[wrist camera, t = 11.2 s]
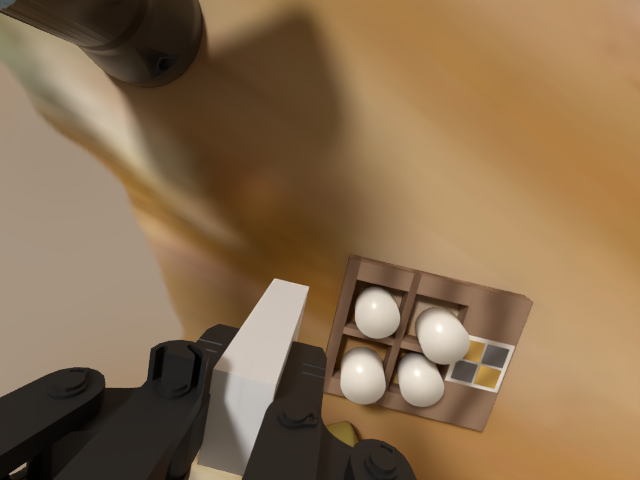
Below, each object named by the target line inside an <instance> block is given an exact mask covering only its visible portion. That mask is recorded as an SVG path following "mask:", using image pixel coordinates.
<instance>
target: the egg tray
mask: <svg viewBox="0 0 640 480" xmlns="http://www.w3.org/2000/svg"><path fill="white" fill-rule="evenodd" d="M356 280H361V281H366V282H370V283H374V284H378V285H382V286H387V287H391V288H395V289H399V290H403V291H404V294H403V297H402V301H401V304H400V308H399V313H400V323H399V326H398V328H397V329H396V331H395V332H394V333H393V334H391V335H390V336H388V337H385V338H380V339H375V338H371V337H368V336H366V335H364V334H363V333H362V332H361V331H360V330H359V329H358V327H357V325H356V322H354V321H350V320H346V319H347V315H348V311H349V307H350V303H351V299H352V296H353V292H354V288H355V284H356ZM416 294H420V295H425V296H429V297H433V298H437V299H441V300H446V301H450V302H454V303H458V304H462V305H461V308H460V310H459V313H458V316H457V319H458V320H459V321H460V323H461V324H462V326H463V327H464V328H465V330H466V331H467V333H468V335H469V338H470V346H469V350H468V352H467V353H466V355H465V356H464V357H463V358H462V359H461V360H459V361H457V362H455V363H452V364H445V365H444V364H441V367H440V370H439V373H440V376H441V378H442V380H443V383H444V393H443V395H442V397H441V398H440V400H439V401H438V402H436V403H435V404H433V405H430V406H426V407H418V406H414V405H412V404H410V403H408V402H407V401H406V400H405V399H404V398H403V396H402V394H401V390H400V386H399V384H395V383H391V382H390V379H391V376H392V373H393V369H394V366H395V363H396V359H397V356H398V353H399V349H400V348H404V349H409V350H413V351H417V352H421V353H424V352H423V350H422V348H421V345H420V343H419V340H418V338H417V337H416V336H412V335H407V334H404V333H405V330H406V326H407V323H408V320H409V316H410V313H411V310H412V306H413V303H414V300H415V297H416ZM532 305H533V302H532V301H531V300H530V299H528V298H527V297H526V296H524V295H521V294H516V293H512V292H508V291H504V290H499V289H495V288H491V287H487V286H482V285H478V284H474V283H470V282H465V281H461V280H457V279H453V278H448V277H444V276H440V275H436V274H431V273H427V272H423V271H419V270H414V269H410V268H406V267H402V266H397V265H393V264H389V263H385V262H380V261H376V260H372V259H368V258H363V257H359V256H355V255H351V254H350V256H349V260H348V264H347V268H346V272H345V276H344V281H343V285H342V289H341V293H340V297H339V301H338V305H337V309H336V313H335V317H334V321H333V325H332V329H331V333H330V337H329V341H328V345H327V349H326V353H325V355H326V357H327V364H326V373H325V381H324V390H323V392H327V393H331V394H335V395H339V396H343V397H345V395H344V394H343V392H342V390H341V386H340V381H341V370H339V369H335V368H334V365H335V362H336V358H337V354H338V350H339V346H340V342H341V338H342V334H347V335H351V336H355V337H359V338H363V339H368V340H372V341H376V342H380V343H384V344H388V348H387V352H386V355H385V359H384V362H383V370H384V376H385V382H386V388H385V391H384V394H383V395H382V397H381V398H380V399H379V400H377V401H376V402H373V403H371V404H375V405H379V406H383V407H387V408H391V409H395V410H399V411H403V412H407V413H411V414H415V415H419V416H423V417H427V418H431V419H435V420H439V421H443V422H447V423H451V424H455V425H459V426H463V427H467V428H471V429H475V430H479V431H484V428H485V426H486V423H487V421H488V418H489V415H490V413H491V410H492V408H493V405H494V403H495V400H496V397H497V395H498V392H499V390H500V387H501V384H502V382H503V379H504V377H505V374H506V372H507V369H508V366H509V364H510V361H511V359H512V356H513V354H514V351H515V348H516V346H517V343H518V341H519V338H520V335H521V333H522V330H523V328H524V325H525V323H526V320H527V317H528V315H529V312H530V310H531V307H532Z"/></svg>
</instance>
